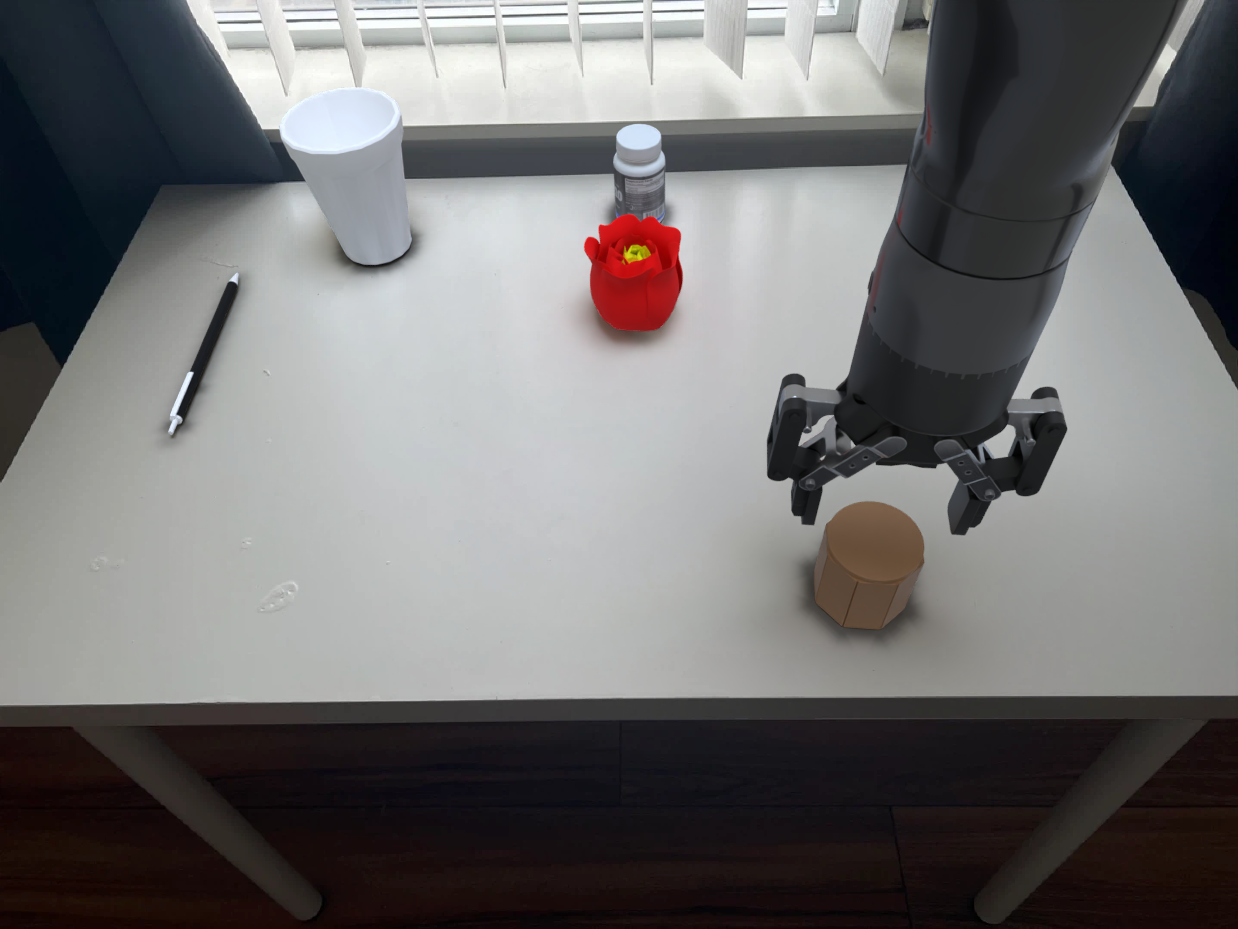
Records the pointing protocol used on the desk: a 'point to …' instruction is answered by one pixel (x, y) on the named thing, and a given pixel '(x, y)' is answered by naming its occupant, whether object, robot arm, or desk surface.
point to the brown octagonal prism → (867, 564)
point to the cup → (354, 168)
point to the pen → (202, 355)
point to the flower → (635, 272)
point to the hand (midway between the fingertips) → (880, 517)
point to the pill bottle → (639, 172)
